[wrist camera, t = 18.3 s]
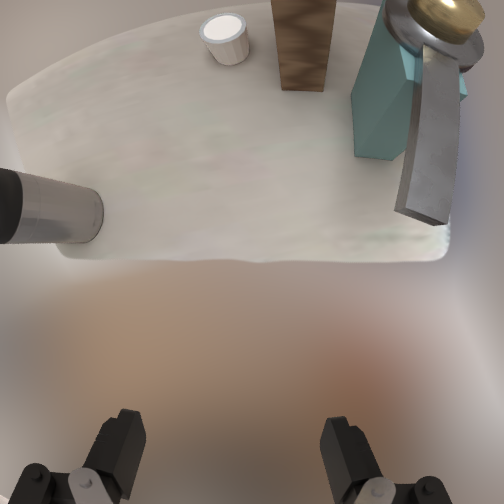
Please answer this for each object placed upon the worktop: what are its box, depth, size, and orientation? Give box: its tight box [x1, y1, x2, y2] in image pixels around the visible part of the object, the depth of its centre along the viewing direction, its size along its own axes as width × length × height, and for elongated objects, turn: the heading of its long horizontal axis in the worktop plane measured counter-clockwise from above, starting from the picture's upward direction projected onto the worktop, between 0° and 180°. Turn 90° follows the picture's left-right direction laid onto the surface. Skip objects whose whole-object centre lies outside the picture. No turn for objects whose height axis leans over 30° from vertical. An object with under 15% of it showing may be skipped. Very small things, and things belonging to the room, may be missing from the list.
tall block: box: [351, 0, 467, 160], centre depth 26 cm, size 6×10×21 cm, turn 178°
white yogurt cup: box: [199, 13, 249, 65], centre depth 35 cm, size 7×7×7 cm
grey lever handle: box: [382, 0, 485, 226], centre depth 13 cm, size 9×22×6 cm, turn 164°
